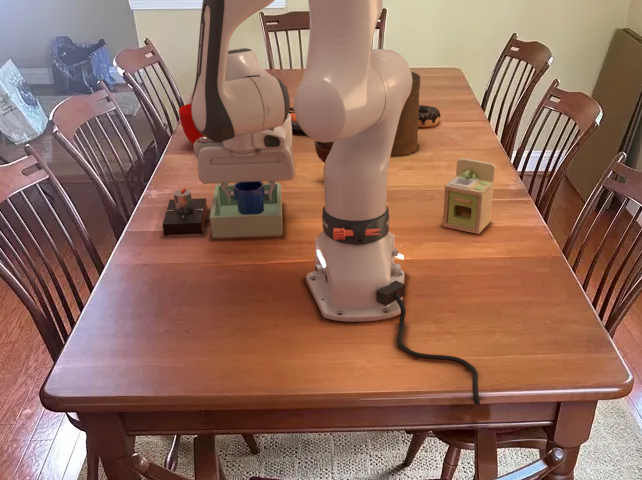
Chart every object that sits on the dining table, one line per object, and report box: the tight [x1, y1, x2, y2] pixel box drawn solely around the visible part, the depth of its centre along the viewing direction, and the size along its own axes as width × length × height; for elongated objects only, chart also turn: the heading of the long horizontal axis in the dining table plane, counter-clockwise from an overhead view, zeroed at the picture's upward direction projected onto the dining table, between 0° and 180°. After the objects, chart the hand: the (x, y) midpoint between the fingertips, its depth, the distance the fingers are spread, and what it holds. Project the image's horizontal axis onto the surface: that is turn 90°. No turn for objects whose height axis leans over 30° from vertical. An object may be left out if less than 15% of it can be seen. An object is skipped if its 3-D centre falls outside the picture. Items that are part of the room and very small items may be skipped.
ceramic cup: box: [178, 103, 205, 146], centre depth 188 cm, size 13×17×10 cm
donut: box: [418, 104, 441, 128], centre depth 207 cm, size 11×12×4 cm
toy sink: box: [442, 157, 496, 235], centre depth 149 cm, size 8×7×13 cm
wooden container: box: [390, 71, 421, 157], centre depth 185 cm, size 15×15×22 cm
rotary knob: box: [173, 187, 193, 214], centre depth 150 cm, size 4×4×4 cm
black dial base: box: [162, 197, 208, 236], centre depth 152 cm, size 13×8×3 cm, turn 5°
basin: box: [209, 182, 283, 239], centre depth 153 cm, size 18×15×5 cm
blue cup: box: [233, 181, 265, 215], centre depth 151 cm, size 6×6×6 cm
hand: (250, 200), depth 151 cm, fingers closed on blue cup, 6 cm apart
